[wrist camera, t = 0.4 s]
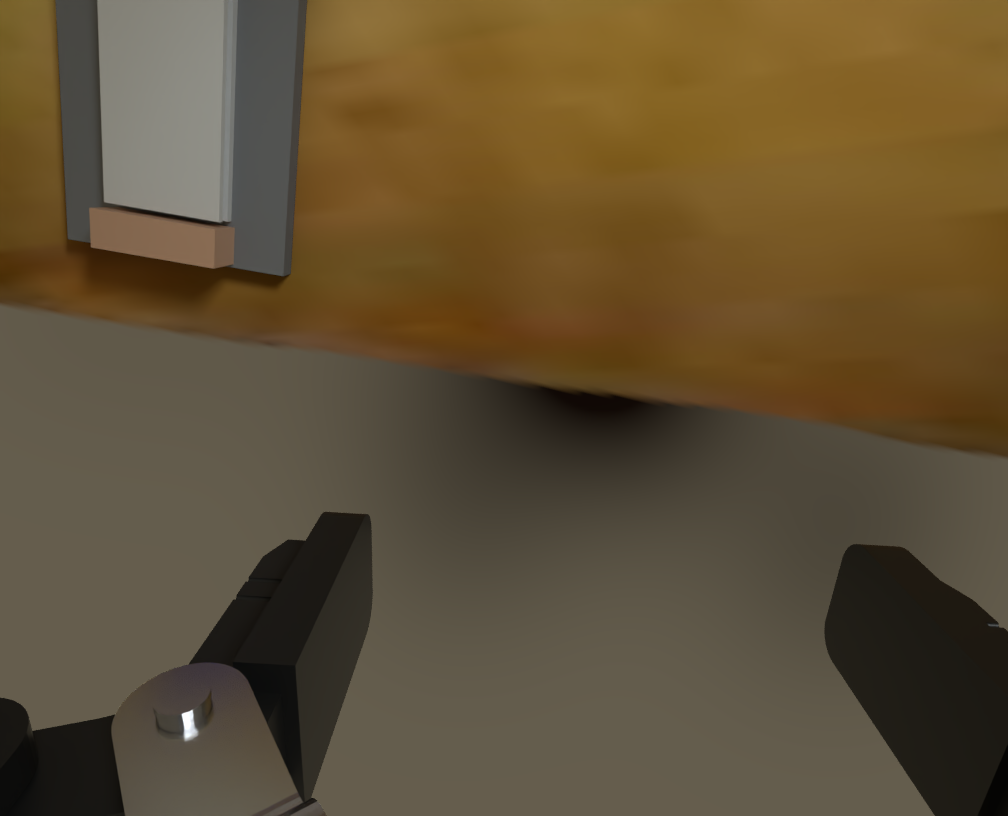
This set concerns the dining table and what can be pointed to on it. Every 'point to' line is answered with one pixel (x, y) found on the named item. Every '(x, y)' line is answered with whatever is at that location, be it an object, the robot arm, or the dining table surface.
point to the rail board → (253, 126)
